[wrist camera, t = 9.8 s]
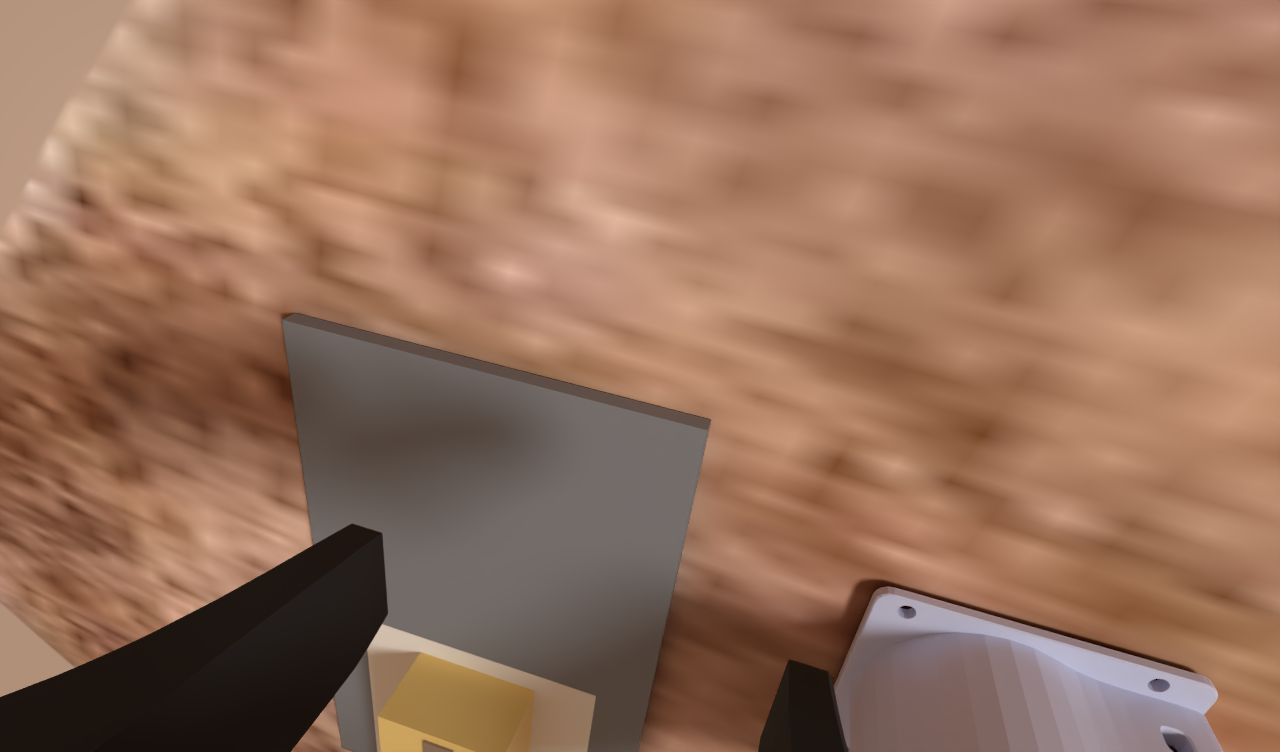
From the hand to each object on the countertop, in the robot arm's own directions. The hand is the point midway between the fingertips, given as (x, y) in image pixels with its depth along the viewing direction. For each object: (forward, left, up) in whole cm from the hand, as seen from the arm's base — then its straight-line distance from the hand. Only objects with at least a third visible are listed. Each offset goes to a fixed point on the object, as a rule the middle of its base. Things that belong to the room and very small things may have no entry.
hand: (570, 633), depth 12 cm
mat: (+6, +13, -9) cm, 17 cm away
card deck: (+6, +19, -9) cm, 22 cm away
